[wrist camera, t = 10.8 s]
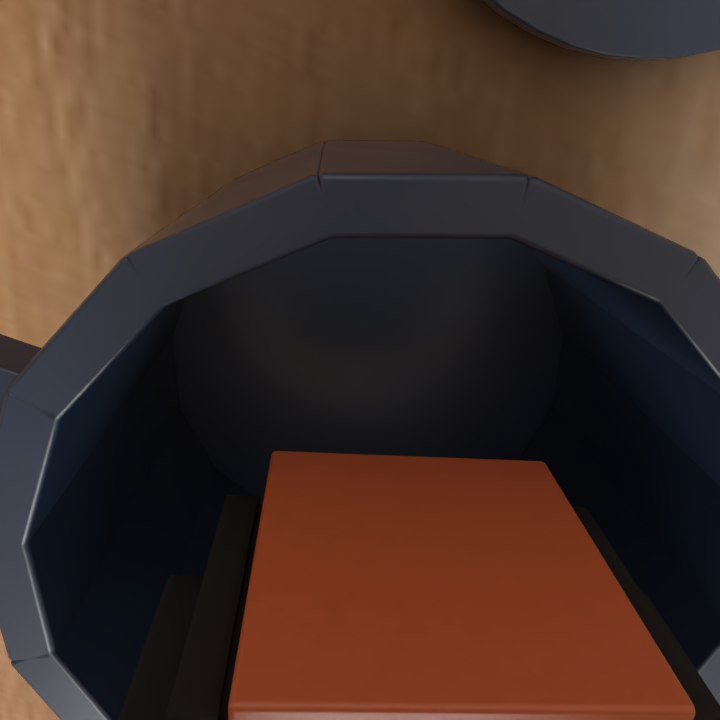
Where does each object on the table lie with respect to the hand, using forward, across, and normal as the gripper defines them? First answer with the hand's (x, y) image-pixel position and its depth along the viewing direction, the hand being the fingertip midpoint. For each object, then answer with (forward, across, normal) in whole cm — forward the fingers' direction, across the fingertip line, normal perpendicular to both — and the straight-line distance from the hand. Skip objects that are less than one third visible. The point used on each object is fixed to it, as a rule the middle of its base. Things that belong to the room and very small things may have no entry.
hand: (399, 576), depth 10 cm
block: (0, 0, 0) cm, 0 cm away
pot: (+9, 0, 0) cm, 9 cm away
